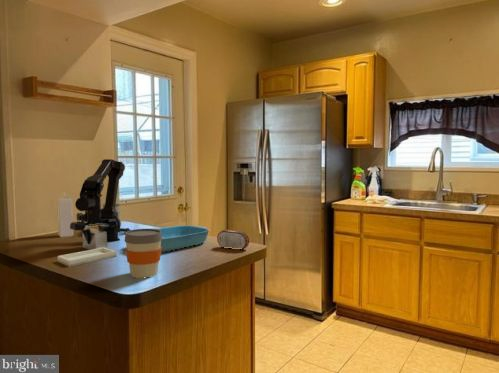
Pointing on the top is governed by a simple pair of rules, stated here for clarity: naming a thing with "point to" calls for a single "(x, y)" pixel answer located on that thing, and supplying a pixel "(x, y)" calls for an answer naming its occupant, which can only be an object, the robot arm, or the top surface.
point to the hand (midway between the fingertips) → (94, 243)
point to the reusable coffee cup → (143, 251)
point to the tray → (86, 256)
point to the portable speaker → (233, 239)
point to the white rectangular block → (95, 239)
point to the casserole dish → (182, 236)
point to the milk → (64, 216)
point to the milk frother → (119, 218)
